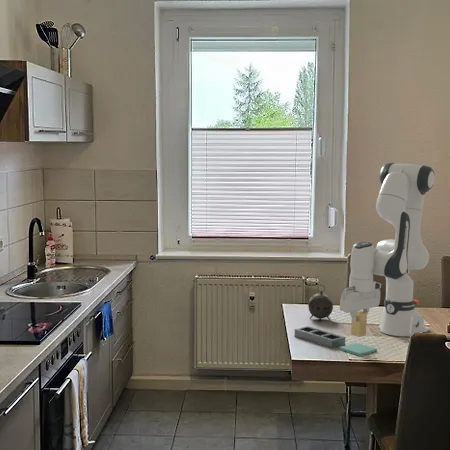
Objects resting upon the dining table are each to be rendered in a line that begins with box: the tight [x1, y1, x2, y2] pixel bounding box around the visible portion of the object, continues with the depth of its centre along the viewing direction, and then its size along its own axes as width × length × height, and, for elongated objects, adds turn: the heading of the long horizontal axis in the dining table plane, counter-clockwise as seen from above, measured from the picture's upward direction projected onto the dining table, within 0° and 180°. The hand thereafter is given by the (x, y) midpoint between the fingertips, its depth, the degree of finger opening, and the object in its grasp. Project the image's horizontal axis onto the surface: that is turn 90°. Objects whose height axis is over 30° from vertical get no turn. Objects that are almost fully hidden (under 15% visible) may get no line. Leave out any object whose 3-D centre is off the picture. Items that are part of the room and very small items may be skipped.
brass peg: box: [350, 310, 368, 338], centre depth 246 cm, size 4×4×9 cm
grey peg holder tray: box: [294, 325, 346, 349], centre depth 260 cm, size 8×20×3 cm, turn 40°
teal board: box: [339, 342, 378, 357], centre depth 247 cm, size 10×10×1 cm
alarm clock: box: [307, 284, 334, 322], centre depth 290 cm, size 11×5×16 cm, turn 84°
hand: (359, 320), depth 246 cm, fingers closed on brass peg, 4 cm apart
